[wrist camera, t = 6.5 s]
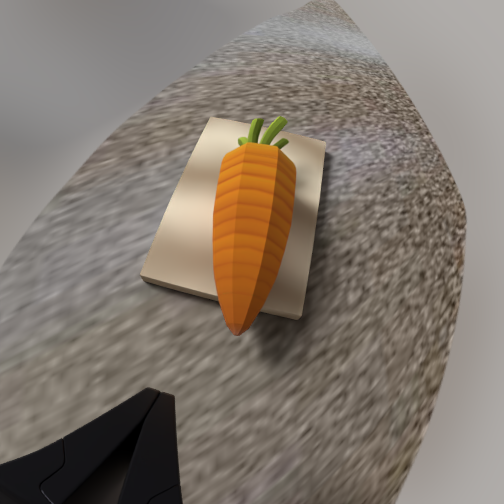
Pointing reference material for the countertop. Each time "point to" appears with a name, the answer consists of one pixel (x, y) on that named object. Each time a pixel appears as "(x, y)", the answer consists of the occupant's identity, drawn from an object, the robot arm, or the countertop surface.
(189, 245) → the cutting board
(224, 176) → the carrot
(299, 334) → the countertop surface
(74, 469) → the robot arm
